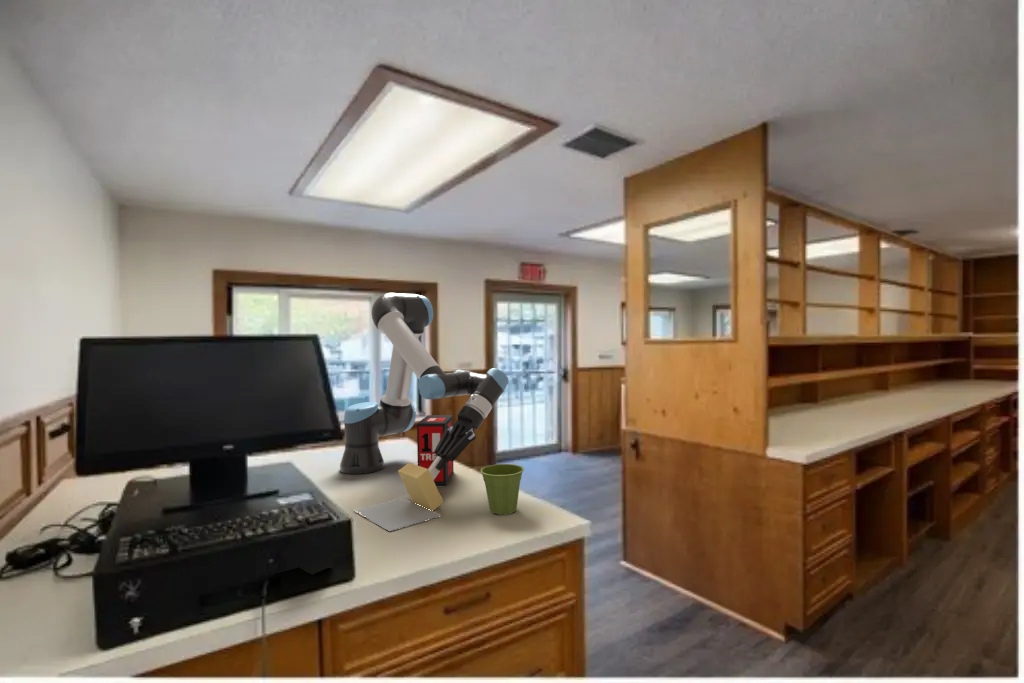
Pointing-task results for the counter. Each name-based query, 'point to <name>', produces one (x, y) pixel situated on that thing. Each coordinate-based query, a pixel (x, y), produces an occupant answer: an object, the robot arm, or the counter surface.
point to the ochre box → (420, 486)
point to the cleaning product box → (433, 444)
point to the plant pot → (502, 487)
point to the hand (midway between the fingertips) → (428, 478)
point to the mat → (397, 514)
